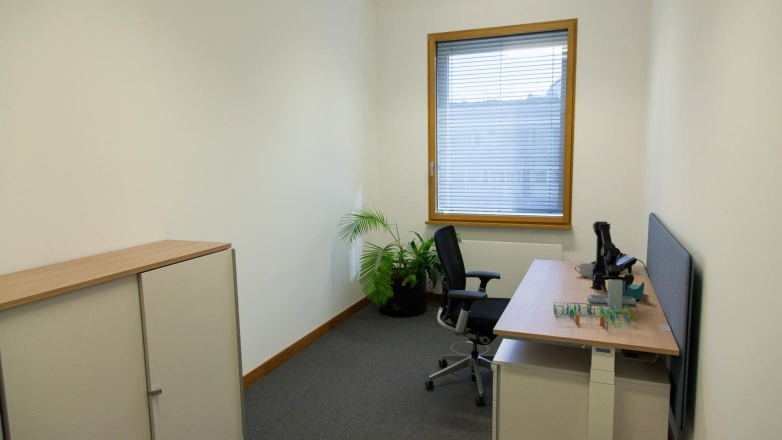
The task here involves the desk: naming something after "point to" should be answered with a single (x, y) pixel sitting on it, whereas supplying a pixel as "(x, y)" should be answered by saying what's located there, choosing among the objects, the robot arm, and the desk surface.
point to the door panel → (615, 293)
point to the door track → (604, 300)
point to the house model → (602, 311)
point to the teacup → (585, 269)
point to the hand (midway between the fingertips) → (615, 292)
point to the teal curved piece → (634, 291)
